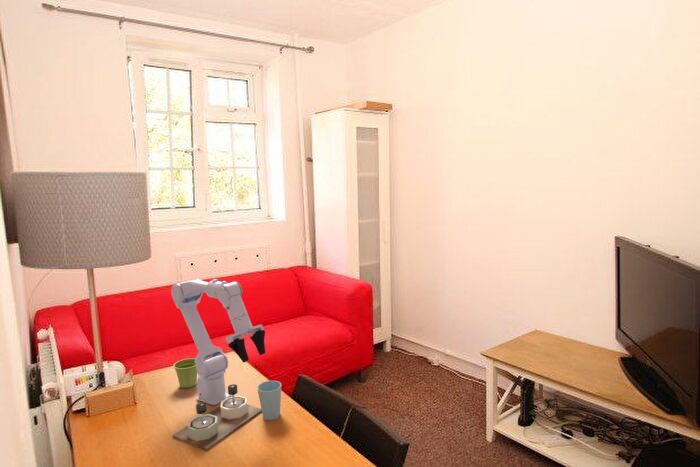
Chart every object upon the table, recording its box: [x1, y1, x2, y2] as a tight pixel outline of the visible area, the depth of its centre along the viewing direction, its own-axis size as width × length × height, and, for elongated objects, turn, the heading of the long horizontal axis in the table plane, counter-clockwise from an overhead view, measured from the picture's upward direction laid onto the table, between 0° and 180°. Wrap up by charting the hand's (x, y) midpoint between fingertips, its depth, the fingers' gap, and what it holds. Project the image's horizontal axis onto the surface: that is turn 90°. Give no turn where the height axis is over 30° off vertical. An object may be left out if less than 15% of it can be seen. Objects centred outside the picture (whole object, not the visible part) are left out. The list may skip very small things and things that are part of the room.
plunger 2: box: [224, 383, 243, 408], centre depth 146 cm, size 6×6×6 cm
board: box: [172, 404, 262, 452], centre depth 141 cm, size 15×24×1 cm, turn 149°
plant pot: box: [172, 358, 198, 389], centre depth 169 cm, size 9×9×9 cm
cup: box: [257, 380, 282, 421], centre depth 144 cm, size 8×8×10 cm
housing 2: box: [220, 395, 248, 419], centre depth 146 cm, size 8×8×3 cm
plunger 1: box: [193, 401, 213, 429], centre depth 135 cm, size 6×6×6 cm
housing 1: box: [187, 413, 218, 441], centre depth 135 cm, size 8×8×3 cm
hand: (254, 357), depth 140 cm, fingers open, 7 cm apart
